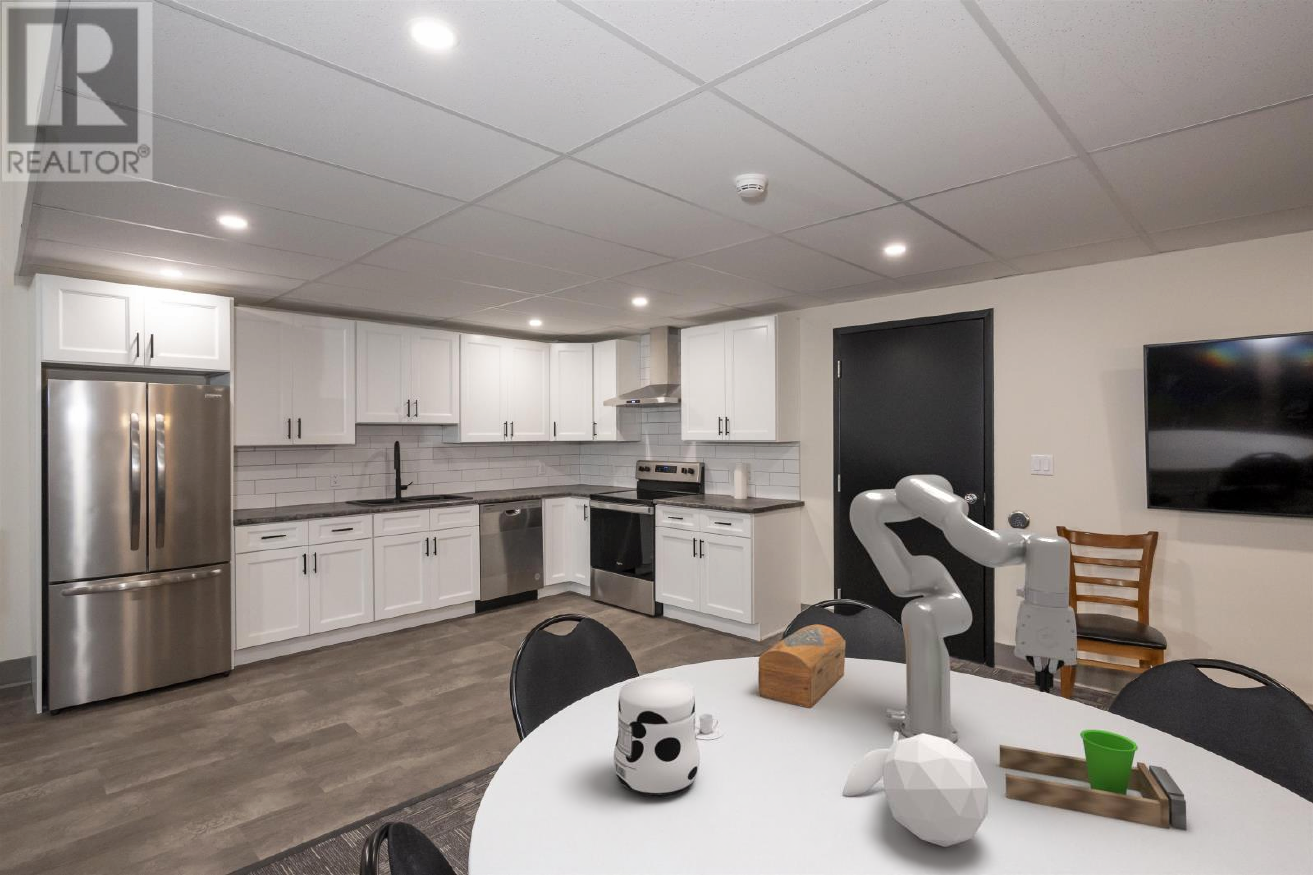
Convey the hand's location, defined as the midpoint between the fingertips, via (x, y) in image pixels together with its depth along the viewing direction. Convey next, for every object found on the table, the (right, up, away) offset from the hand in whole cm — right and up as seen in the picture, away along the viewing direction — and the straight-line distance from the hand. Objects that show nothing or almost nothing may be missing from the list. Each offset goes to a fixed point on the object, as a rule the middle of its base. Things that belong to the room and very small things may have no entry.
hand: (1043, 689), depth 127 cm
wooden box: (-36, -20, +55) cm, 68 cm away
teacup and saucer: (-67, -20, +26) cm, 75 cm away
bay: (+6, -19, -3) cm, 20 cm away
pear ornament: (-31, -19, -11) cm, 38 cm away
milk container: (-77, -19, +2) cm, 79 cm away
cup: (+9, -19, -5) cm, 22 cm away
